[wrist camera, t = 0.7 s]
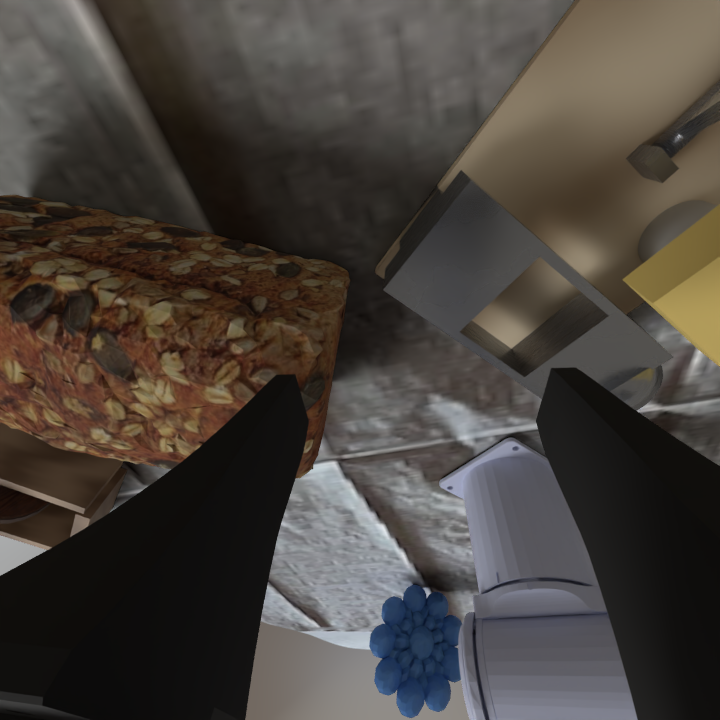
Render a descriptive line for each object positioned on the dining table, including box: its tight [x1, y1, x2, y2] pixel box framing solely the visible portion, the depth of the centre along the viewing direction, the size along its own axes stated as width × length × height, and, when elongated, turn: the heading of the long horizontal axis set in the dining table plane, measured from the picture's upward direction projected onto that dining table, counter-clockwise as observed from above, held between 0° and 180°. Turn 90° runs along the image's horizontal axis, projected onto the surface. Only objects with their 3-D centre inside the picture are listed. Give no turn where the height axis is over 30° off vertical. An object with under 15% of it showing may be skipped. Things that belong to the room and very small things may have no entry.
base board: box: [375, 0, 720, 349], centre depth 15 cm, size 12×17×1 cm
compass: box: [0, 485, 51, 524], centre depth 31 cm, size 8×8×7 cm
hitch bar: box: [383, 144, 679, 410], centre depth 13 cm, size 13×16×5 cm
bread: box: [0, 195, 351, 478], centre depth 17 cm, size 19×11×10 cm, turn 79°
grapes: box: [369, 585, 462, 718], centre depth 39 cm, size 12×7×12 cm, turn 76°
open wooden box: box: [0, 422, 127, 550], centre depth 32 cm, size 13×13×5 cm
